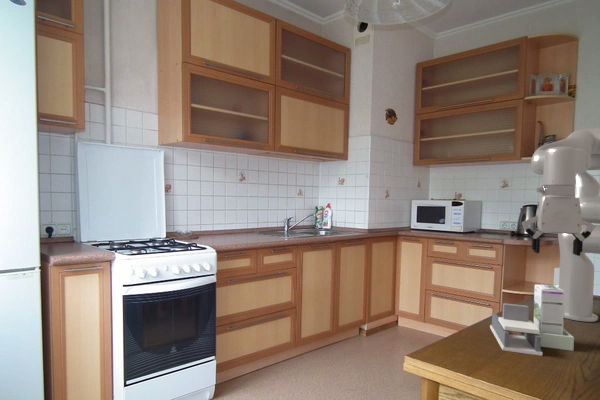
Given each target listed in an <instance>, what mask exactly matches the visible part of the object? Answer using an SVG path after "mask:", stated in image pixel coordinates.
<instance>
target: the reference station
mask: <svg viewBox="0 0 600 400" xmlns="http://www.w3.org/2000/svg"><path fill="white" fill-rule="evenodd" d="M499 317H500V316H498V314H497V313H496V312H492V314H491V324H490V325H489V328H490V330H491V332H492V334H493V337H495V339H496V341H497V342H498V345H499V347H500V348H501V350H502V351H505V352H512V353H518V354H519V353H520V354H526V355H533V356H543V351H542V350H541V336H540V335H539V334H534V333H526V332H518V331H509V330H504V328H503V327H502V325H501V324H500V322H499V321H498V318H499Z"/></svg>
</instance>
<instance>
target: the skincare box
mask: <svg viewBox="0 0 600 400" xmlns="http://www.w3.org/2000/svg"><path fill="white" fill-rule="evenodd" d="M553 270H554V272H553V284H552V285H553V286H555V285H559V275H560V267H554V268H553Z"/></svg>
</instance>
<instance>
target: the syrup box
mask: <svg viewBox="0 0 600 400" xmlns="http://www.w3.org/2000/svg"><path fill="white" fill-rule="evenodd" d="M553 285H554V284H552V285H551V284H534V291H533V292H534V297H533V321H532V322H533V324H534V325H535V326H536V327H537V328H538V329H539V330H540V333H547V334H555V335H563V328H564V322H565V321H564V319H565V318H564V290H562V289H560V288H558V287H557V286H553Z"/></svg>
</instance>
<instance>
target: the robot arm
mask: <svg viewBox="0 0 600 400" xmlns="http://www.w3.org/2000/svg"><path fill="white" fill-rule="evenodd" d="M530 166H531V170H532V171H533V173H535V175H540V176H542V177H543V178H542V185H541V186H540V187H537V188H536V193H540V194H541V195H542V196H539V198H538V202H537V206H536V207H537V208H536V213H535V216H533V217H530V218H528V219H526V220H524V221H522V222H521V225H522V227H523V230H524V232H525V233H526V234H527V235H529V237H531V250H533V253H535V254H540V247H541V246H540V245H541V240H540V238H539V237H540V236H541V235H542V234H543V233H545V234H557V238H558V239H557V240H558V245H559V268H560V275H559V288H560V289H562V290H564V319H568V320H573V321H577V322H587V323H588V322H589V323H593V322H597V321H599V316H598V315H597V314H595V313H593V308H594V307H593V306H594V305H593V304H594V287H595V286H594V281H595V265H594V263H593V261H592V260H591V259H590V258H589V257H588V256H587V254H594V255H595V254H597V255H598V254H599V255H600V183H599V181H598V180H597V179H596V178H595V177H594V176H593V175H592V174H590V173H588V171H600V127H595V128H594V127H593V128H582V129H581V128H580V129H578V130H575V131H573V132H571V133H570V134H569V135H568V136H567V137H566V138H564V139H560V140H556V141H554V142H549V143H546V144H544V145H543V144H542V145H541V146H540V147H538V148H537V149H536V150H535V151H534V153H533V154H532V157H531V159H530ZM531 224H534V228H535V230H532V229H531V227H530V225H531Z"/></svg>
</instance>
